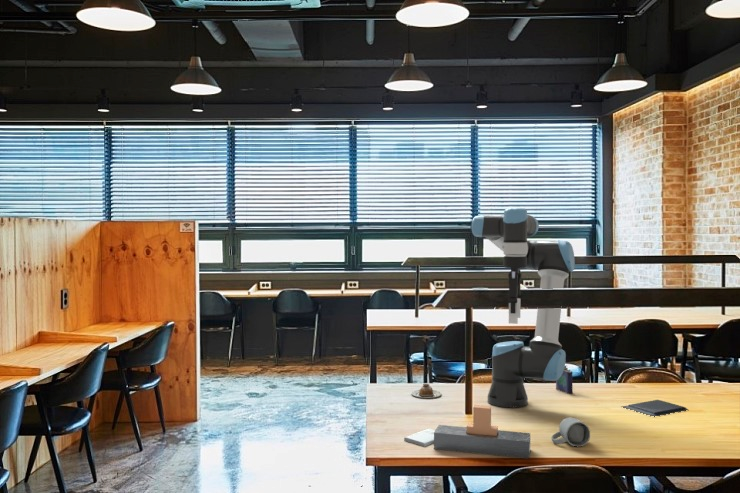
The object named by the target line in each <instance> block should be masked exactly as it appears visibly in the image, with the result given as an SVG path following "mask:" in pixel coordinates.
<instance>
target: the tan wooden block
mask: <svg viewBox="0 0 740 493" xmlns="http://www.w3.org/2000/svg"><path fill="white" fill-rule="evenodd" d="M472 414H473V415H472V418H473V419H472V421H473V422H472V423H467V425H466V427H467V433H468V434H483V435H489V436H497V433H498V430H499V427H498V426H497V425H492V406H491V405H486V404H485V405H483V404H474V405H473V409H472Z"/></svg>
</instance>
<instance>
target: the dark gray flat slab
mask: <svg viewBox="0 0 740 493" xmlns="http://www.w3.org/2000/svg"><path fill="white" fill-rule="evenodd" d="M622 407H623V409H625V408H626V410H628V409H630V410H629V411H631V410H634V411H633V412H635V411H636V412H635V413H638V412H640V413H639V414H641V413H643V414H642V415H644V414H646V415H645V416H647V415H650V416H649V417H651V416H654V417H653V418H656V417H655V416H659V417H661V416H660V415H664V416H667V415H666V414H668V415H671V414H670V413H673V414H676V413H675V412H678V413H682V412H681V411H684V412H687V411H686V410H688V411H689V409H688V408H687V407H685V406H681V405H679V404H675V403H671V402H668V401H665V400H660V399H654V400H648V401H643V402H637V403H631V404H626V405H622V406H620V408H622Z"/></svg>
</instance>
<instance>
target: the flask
mask: <svg viewBox="0 0 740 493" xmlns="http://www.w3.org/2000/svg"><path fill="white" fill-rule="evenodd" d="M555 390H557V391H560V392H563V393H565V394H568V395H573V394H574V393H573V371H571V369H568V364H565V367H564V371H563V373H562V375H561V377H560V378H559V379H558V380H556V381H555Z"/></svg>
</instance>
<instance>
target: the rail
mask: <svg viewBox="0 0 740 493" xmlns="http://www.w3.org/2000/svg"><path fill="white" fill-rule="evenodd" d="M434 430H435V432H434V443H433V450H439V451H440V450H443V451H449V452H450V451H451V452H458V453H469V454H480V455H489V456H491V455H492V456H497V457H499V456H500V457H509V458H518V459H526V460H527V459H529V460H530V455H531V432H522V431H521V432H520V431H510V430H499V429H498V433H497V436H489V435H483V434H468V433H467V426H466V427H465V426H456V425H446V424H445V425H444V424H438V426H437V427H436V429H434Z"/></svg>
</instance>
